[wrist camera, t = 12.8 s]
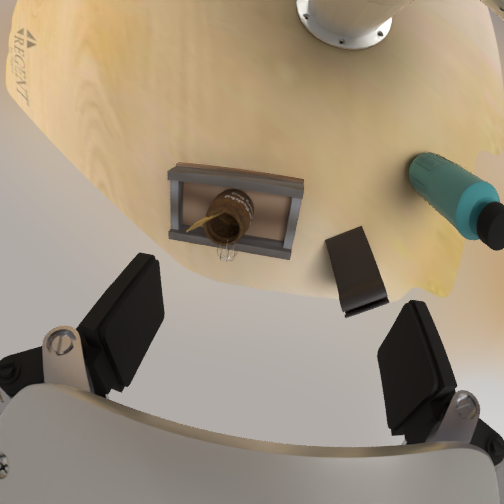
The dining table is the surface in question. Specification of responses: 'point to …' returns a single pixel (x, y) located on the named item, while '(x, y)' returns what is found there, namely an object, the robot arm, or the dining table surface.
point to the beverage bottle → (460, 198)
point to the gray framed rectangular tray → (250, 182)
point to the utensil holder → (227, 218)
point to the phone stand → (356, 273)
